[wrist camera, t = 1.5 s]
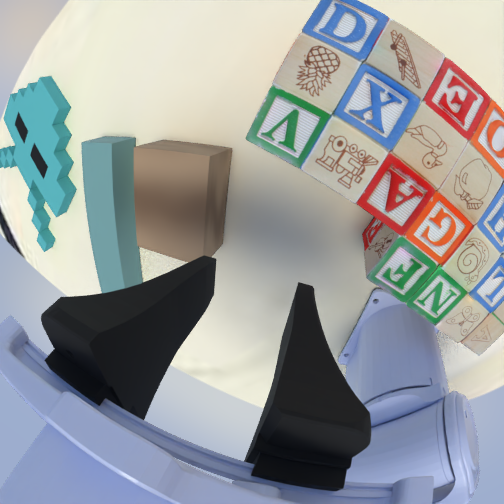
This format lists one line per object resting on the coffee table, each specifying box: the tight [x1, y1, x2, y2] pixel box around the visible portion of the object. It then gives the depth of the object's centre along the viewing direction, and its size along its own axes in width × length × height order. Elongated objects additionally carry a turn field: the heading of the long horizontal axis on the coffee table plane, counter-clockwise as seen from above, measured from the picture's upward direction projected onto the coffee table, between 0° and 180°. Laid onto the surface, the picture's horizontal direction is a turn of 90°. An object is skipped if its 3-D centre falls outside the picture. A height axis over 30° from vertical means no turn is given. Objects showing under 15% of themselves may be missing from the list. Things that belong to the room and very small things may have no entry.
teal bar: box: [82, 137, 143, 293], centre depth 25 cm, size 22×4×3 cm, turn 172°
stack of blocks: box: [246, 0, 504, 355], centre depth 13 cm, size 21×6×12 cm
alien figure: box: [0, 76, 77, 252], centre depth 24 cm, size 20×2×20 cm
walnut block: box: [134, 140, 232, 262], centre depth 20 cm, size 8×6×4 cm
